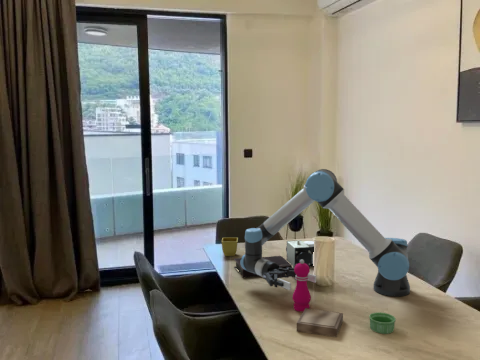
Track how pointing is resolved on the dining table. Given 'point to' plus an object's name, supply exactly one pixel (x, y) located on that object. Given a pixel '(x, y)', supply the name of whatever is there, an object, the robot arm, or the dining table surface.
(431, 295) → the dining table surface
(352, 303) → the dining table surface
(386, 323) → the ramekin
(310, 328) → the plinth
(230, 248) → the flower pot
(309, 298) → the pepper mill
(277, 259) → the diary
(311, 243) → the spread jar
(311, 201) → the robot arm
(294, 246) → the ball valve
